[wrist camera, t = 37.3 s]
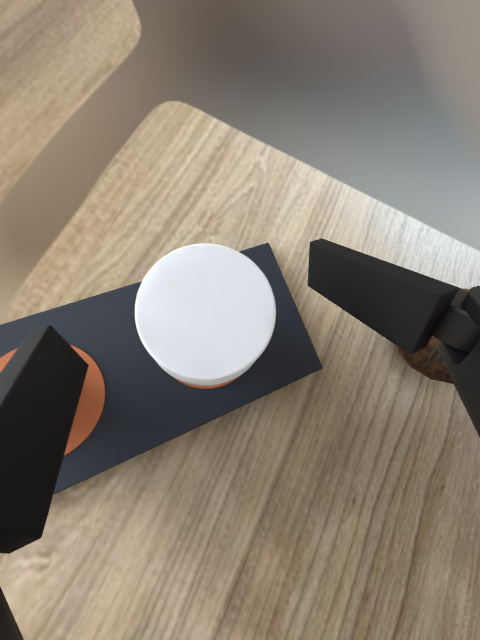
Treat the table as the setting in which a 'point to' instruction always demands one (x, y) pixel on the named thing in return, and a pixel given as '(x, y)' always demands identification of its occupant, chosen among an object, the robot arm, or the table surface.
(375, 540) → the table surface
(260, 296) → the pill bottle
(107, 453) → the mat
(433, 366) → the mushroom
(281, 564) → the table surface
